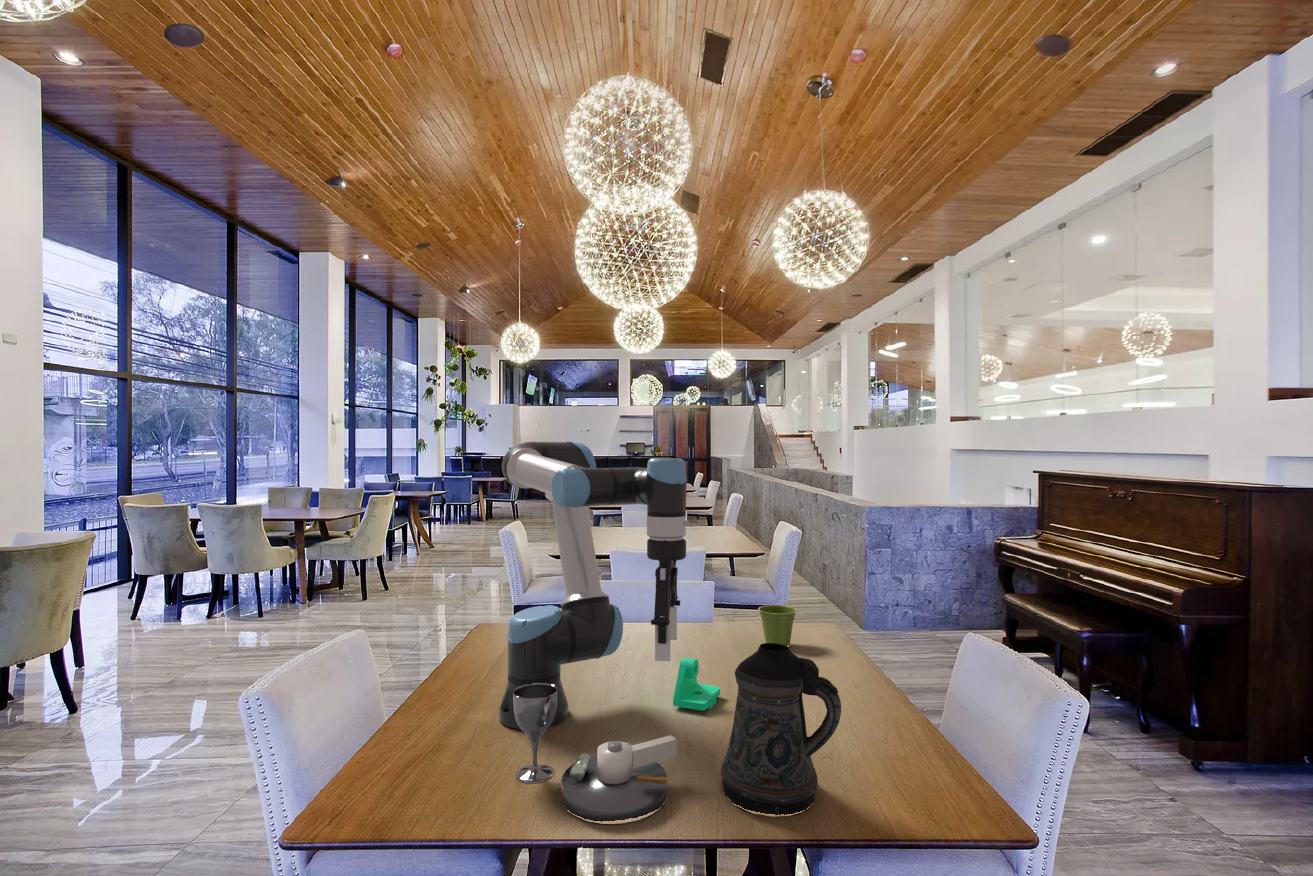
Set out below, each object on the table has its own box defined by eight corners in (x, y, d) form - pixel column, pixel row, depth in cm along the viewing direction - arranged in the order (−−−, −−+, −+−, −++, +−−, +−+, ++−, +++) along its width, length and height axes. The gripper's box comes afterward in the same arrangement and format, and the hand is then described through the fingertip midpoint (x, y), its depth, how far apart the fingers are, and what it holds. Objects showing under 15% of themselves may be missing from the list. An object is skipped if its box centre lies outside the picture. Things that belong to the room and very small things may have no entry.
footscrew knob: (607, 787, 105) (607, 755, 105) (591, 772, 110) (591, 741, 110) (682, 764, 113) (682, 735, 113) (664, 751, 118) (664, 723, 118)
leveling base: (547, 819, 101) (547, 785, 101) (577, 766, 119) (578, 736, 119) (659, 829, 98) (659, 794, 99) (673, 773, 116) (673, 743, 116)
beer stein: (713, 770, 117) (713, 633, 118) (816, 767, 119) (815, 631, 120) (730, 821, 101) (730, 662, 102) (849, 816, 102) (848, 659, 103)
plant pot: (802, 644, 198) (802, 607, 198) (789, 654, 188) (788, 615, 188) (766, 638, 204) (766, 603, 205) (751, 647, 194) (751, 610, 195)
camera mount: (704, 716, 143) (704, 669, 143) (673, 710, 146) (673, 665, 146) (721, 697, 154) (721, 654, 154) (691, 693, 157) (691, 651, 157)
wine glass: (537, 759, 122) (538, 679, 122) (565, 772, 117) (566, 689, 117) (503, 775, 115) (504, 691, 116) (531, 789, 110) (532, 702, 111)
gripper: (680, 547, 110) (680, 671, 109) (690, 531, 134) (690, 632, 134) (637, 546, 110) (637, 669, 110) (655, 530, 135) (655, 631, 134)
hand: (666, 649), depth 122 cm, fingers open, 13 cm apart
